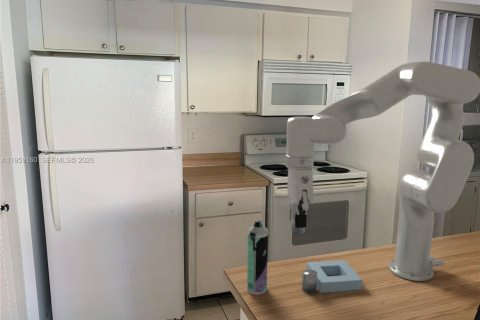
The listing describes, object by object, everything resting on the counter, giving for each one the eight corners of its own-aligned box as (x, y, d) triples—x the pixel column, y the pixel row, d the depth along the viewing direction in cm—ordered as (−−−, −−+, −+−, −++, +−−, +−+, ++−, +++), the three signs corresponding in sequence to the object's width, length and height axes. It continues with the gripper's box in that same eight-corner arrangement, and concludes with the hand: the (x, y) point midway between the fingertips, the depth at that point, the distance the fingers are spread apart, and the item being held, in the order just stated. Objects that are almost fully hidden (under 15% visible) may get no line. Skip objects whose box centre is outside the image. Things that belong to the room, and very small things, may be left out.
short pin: (314, 285, 104) (314, 269, 104) (318, 292, 100) (319, 275, 100) (300, 286, 104) (300, 269, 103) (304, 293, 100) (304, 276, 99)
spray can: (265, 295, 99) (267, 225, 95) (245, 293, 100) (246, 223, 96) (267, 285, 104) (269, 218, 100) (248, 283, 105) (249, 216, 101)
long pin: (302, 228, 108) (303, 195, 106) (306, 233, 104) (307, 199, 102) (288, 229, 107) (289, 196, 105) (292, 234, 103) (293, 200, 101)
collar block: (343, 269, 114) (344, 260, 113) (361, 289, 102) (362, 279, 102) (306, 271, 112) (306, 262, 112) (320, 292, 101) (321, 282, 100)
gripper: (323, 167, 94) (320, 234, 98) (303, 155, 110) (301, 213, 114) (295, 168, 93) (293, 236, 97) (279, 156, 109) (278, 215, 113)
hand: (297, 223), depth 105 cm, fingers closed on long pin, 4 cm apart
